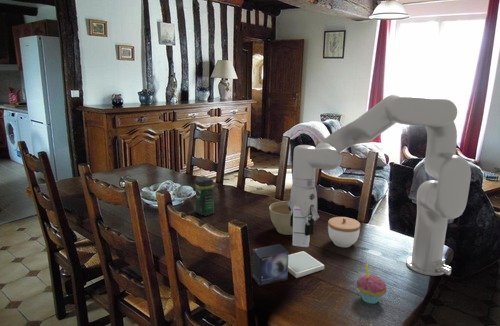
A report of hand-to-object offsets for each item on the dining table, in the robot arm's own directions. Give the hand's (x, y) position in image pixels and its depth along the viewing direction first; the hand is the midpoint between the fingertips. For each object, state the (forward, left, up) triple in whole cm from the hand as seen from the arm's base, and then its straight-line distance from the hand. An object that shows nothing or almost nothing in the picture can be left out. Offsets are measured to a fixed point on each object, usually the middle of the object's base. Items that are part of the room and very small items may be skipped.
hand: (301, 229), depth 122 cm
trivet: (0, 0, -14) cm, 14 cm away
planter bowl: (+27, -13, -14) cm, 33 cm away
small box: (-2, +14, -14) cm, 20 cm away
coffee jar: (+64, +11, -14) cm, 66 cm away
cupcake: (-26, -7, -14) cm, 30 cm away
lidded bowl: (+6, -26, -14) cm, 30 cm away
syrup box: (0, 0, -5) cm, 5 cm away
